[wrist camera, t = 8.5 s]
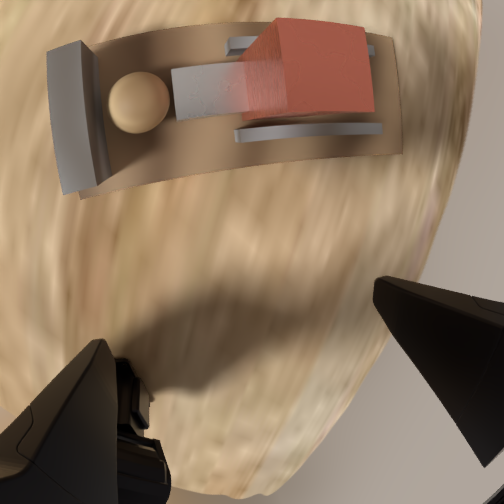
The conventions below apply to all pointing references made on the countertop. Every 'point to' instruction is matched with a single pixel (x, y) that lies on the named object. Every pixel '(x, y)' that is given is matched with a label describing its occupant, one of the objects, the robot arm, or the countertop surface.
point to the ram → (283, 75)
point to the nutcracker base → (198, 130)
